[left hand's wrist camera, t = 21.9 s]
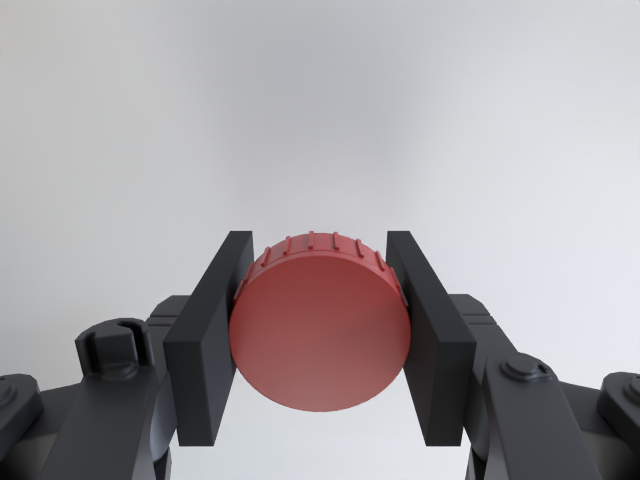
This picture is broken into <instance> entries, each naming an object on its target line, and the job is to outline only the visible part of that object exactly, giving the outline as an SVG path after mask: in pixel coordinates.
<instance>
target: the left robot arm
mask: <svg viewBox="0 0 640 480" xmlns="http://www.w3.org/2000/svg"><path fill="white" fill-rule="evenodd" d="M251 262H253V263H254V252H253V236H252V231H230V232H229V234H228V236H227V237H226V239H225V241H224V242H223V244H222V246H221V247H220V249H219V250H218V252H217V254H216V255H215V257H214V259H213V260H212V262H211V264H210V265H209V267H208V268H207V270H206V272H205V273H204V275H203V277H202V278H201V280H200V282H199V283H198V285H197V286H196V288H195V290H194V291H193V293H192V295H172V296H170V297H169V298H167V299H166V300H164V301H163V302H161V303H160V304H158V305H157V307H156V308H155V309H154V311H153V312H152V313H151V315H150V318H148V319H147V320H146V321H145V322H144V321H143V320H139V319H135V318H118V319H113V320H108V321H104V322H102V323H99V324H97V325H94V326H92V327H90V328H89V329H87V330H85V331H84V332H82V333H81V334H80V335H79V336H78V337H77V339H76V340H75V344H76V348H77V352H78V356H79V360H80V364H81V368H82V372H83V379H82V381H81V383H78V384H74V385H70V386H66V387H61V388H56V389H51V390H46V391H41V392H40V390H39V387H38V384H37V380H35V379H34V378H33V377H32V376H30V375H25V374H12V375H4V376H0V480H170V473H171V464H172V461H171V454H170V448H169V444H170V441H171V439H172V437H173V434H174V432H175V429H177V435H178V441H179V446H214V443H215V440H216V436H217V433H218V430H219V426H220V423H221V419H222V416H223V413H224V409H225V406H226V402H227V399H228V395H229V392H230V389H231V385H232V382H233V378H234V375H235V372H236V368H237V366H236V364H235V362H234V359H233V357H232V355H231V351H230V345H229V334H228V326H229V320H230V316H231V312H232V310H233V307H234V304H235V303H234V302H232V301H233V298H234V296H235V293H236V291H237V288H238V286H239V283H240V281H241V280H244V278H245V275H246V273H247V270H248V267H249V265H250V263H251ZM386 264H387V265H388V267H389V268H391V267H392V268H393V269H394V272H395V274H396V277H397V279H398V282H399V284H400V286H401V287H402V290H403V292H404V295H405V297H406V300H407V302H408V305H409V309H407V311H408V313H409V317H410V322H411V343H410V349H409V353H408V356H407V359H406V361H405V364H404V366H403V369H404V373H405V376H406V379H407V383H408V386H409V390H410V393H411V396H412V400H413V403H414V407H415V410H416V413H417V417H418V420H419V424H420V427H421V430H422V434H423V437H424V441H425V444H426V446H461V440H462V433H463V427H464V428H465V430H466V433H467V435H468V437H469V440H470V442H471V448H470V454H469V460H468V466H467V471H466V477H465V480H640V374H636V373H627V372H617V373H610V374H609V375H607V376H606V377H605V378H604V379H603V383H602V386H601V389H600V390H598V389H593V388H588V387H583V386H578V385H573V384H569V383H565V382H561V381H559V380H558V378H557V376H556V374H555V373H554V372H553V370H552V369H551V368H550V367H549V366H548V365H546V364H545V363H543V362H542V361H541V360H539V359H537V358H535V357H532V356H530V355H528V354H524V353H520V352H518V351H517V350H516V348H515V347H514V346H513V344H512V343H511V342H510V340H509V339H508V338H507V336H506V335H505V334H504V332H503V331H502V329H501V328H500V327H499V325H497V323H496V321H495V320H494V319H493V317H492V316H490V313H489V312H488V311H487V309H486V308H485V307H484V305H483V304H482V303H481V302H479V301H478V300H476V299H475V298H473V297H472V296H470V295H468V294H448V293H447V292H446V290H445V288H444V287H443V285H442V284H441V282H440V280H439V279H438V277H437V275H436V274H435V272H434V271H433V269H432V267H431V266H430V264H429V262H428V261H427V259H426V257H425V256H424V254H423V253H422V251H421V249H420V248H419V246H418V244H417V243H416V241H415V239H414V238H413V236H412V235H411V233H410V231H388V232H387V248H386Z"/></svg>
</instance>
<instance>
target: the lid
mask: <svg viewBox="0 0 640 480" xmlns="http://www.w3.org/2000/svg"><path fill="white" fill-rule="evenodd" d="M232 302H234V303H235V304H234V307H233V310H232V312H231V316H230V320H229V326H228V334H229V345H230V351H231V355H232V357H233V359H234V362H235V364H236V366H237V368H238V369H239V371H240V373H241V374H242V375H243V377H244V378H245V379H246V381H247V382H248V383H249V384H250V385H251V386H252V387H253V388H254V389H256V390H257V391H258V392H260V393H261V394H262V395H264V396H265V397H267V398H269V399H270V400H272V401H274V402H277V403H279V404H281V405H284V406H287V407H290V408H293V409H298V410H303V411H311V412H328V411H337V410H342V409H347V408H350V407H353V406H356V405H359V404H361V403H363V402H365V401H368V400H369V399H371V398H373V397H374V396H376V395H378V394H379V393H380V392H381V391H383V390H384V389H385V388H386V387H387V386H388V385H389V384H390V383H391V382H392V381H393V380H394V379H395V378H396V376H397V375H398V374H399V372H400V371H401V369H402V367H403V366H404V364H405V361H406V359H407V356H408V353H409V349H410V343H411V322H410V317H409V313H408V311H407V309H409V305H408V302H407V300H406V297H405V295H404V292H403V290H402V287H401V286H400V284H399V282H398V279H397V277H396V274H395V272H394V269H393V268H392V267H391V268H389V267H388V265H387V264H386V263H385V262H384V260H383V259H382V258H381V255H380V253H379V252H378V251H376V252H374V251H373V250H371V249H370V248H369V247H367V246H365V245H364V244H362V243H361V240H359V239H357V240H353V239H351V238H348V237H344V236H340V235H338V232H334V234H328V233H314V232H313V231H310V232H309V234H303V235H299V236H295V237H292V238H290V236H288V237H286V240H284V241H282V242H280V243H278V244H276V245H274V246H272V247H271V248H269V246H268V247H267V248H266V249H265V252H264V253H263V254H262V255H261V256H260V257H259V258H258V259H257V260H256V261H255V263H253V262H251V263H250V265H249V267H248V270H247V273H246V275H245V278H244V280H241V281H240V283H239V286H238V288H237V291H236V293H235V296H234V298H233V301H232Z"/></svg>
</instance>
